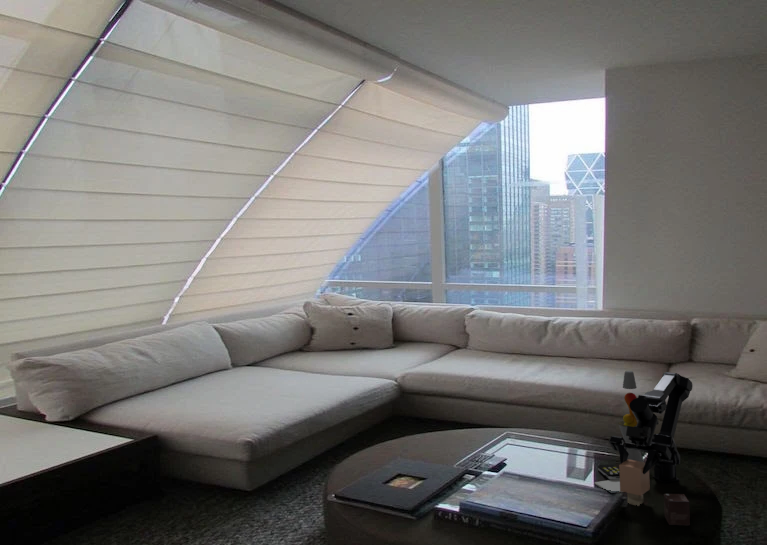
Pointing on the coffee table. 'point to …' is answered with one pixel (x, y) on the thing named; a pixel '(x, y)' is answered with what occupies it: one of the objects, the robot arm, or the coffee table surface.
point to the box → (676, 509)
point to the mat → (609, 485)
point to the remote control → (610, 471)
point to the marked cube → (634, 499)
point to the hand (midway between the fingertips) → (632, 471)
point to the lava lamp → (629, 415)
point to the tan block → (633, 477)
